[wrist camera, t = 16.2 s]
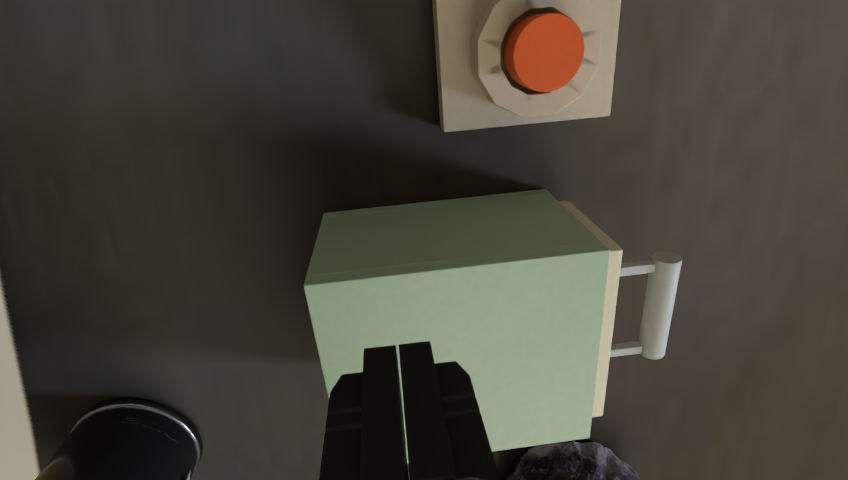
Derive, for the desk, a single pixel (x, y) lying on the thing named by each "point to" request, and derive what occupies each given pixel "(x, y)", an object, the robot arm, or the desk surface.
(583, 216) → the basket drawer
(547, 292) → the box
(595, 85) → the control pad
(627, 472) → the crystal cluster
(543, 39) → the button
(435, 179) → the desk surface
